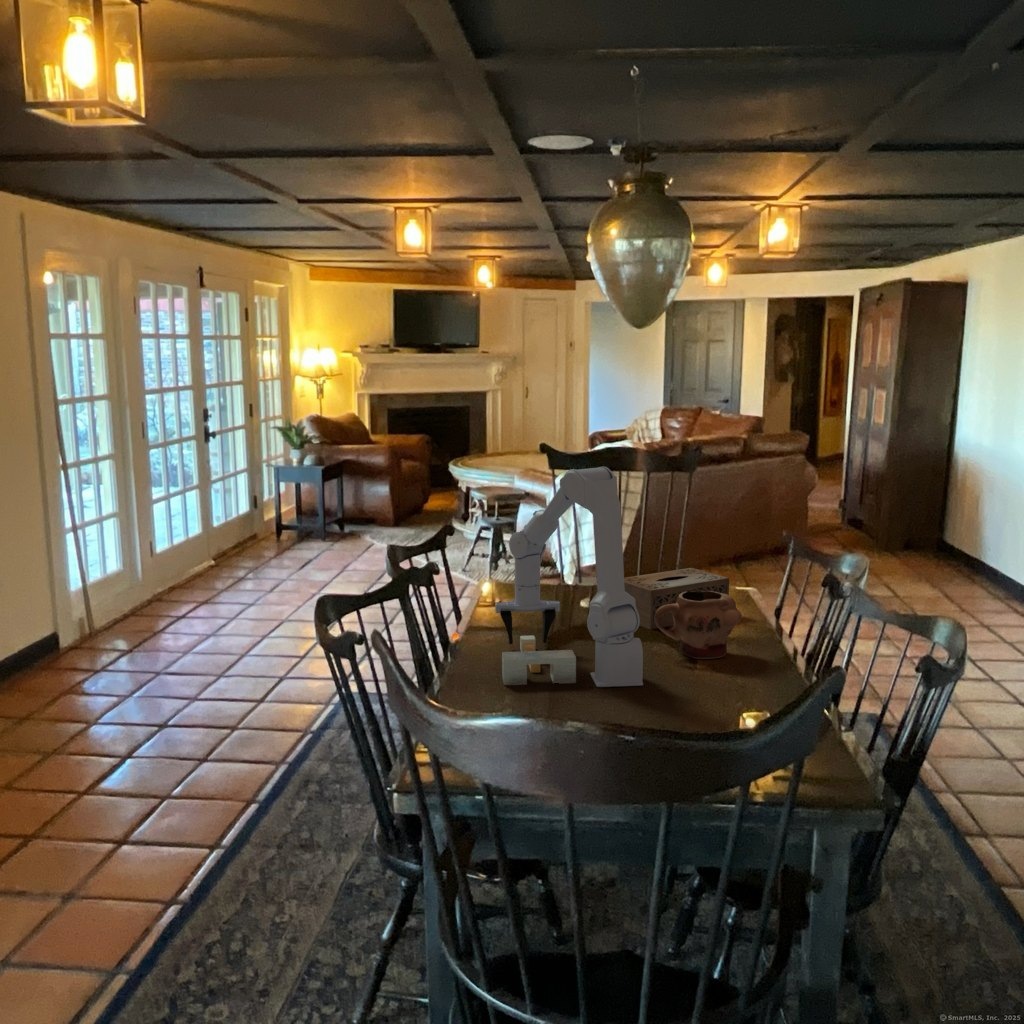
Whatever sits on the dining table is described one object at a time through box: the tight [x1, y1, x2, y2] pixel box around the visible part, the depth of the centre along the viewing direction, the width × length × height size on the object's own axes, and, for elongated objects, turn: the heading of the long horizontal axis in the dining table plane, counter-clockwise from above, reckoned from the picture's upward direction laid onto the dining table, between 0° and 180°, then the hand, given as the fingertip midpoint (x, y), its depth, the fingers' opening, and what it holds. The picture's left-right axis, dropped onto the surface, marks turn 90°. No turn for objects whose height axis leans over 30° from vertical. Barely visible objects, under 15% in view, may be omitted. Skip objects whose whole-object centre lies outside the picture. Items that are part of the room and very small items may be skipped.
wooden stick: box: [519, 634, 541, 673], centre depth 202 cm, size 17×3×3 cm, turn 5°
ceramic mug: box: [654, 591, 743, 660], centre depth 204 cm, size 20×12×14 cm, turn 105°
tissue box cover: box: [624, 567, 730, 630], centre depth 237 cm, size 26×14×10 cm, turn 121°
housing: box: [501, 649, 577, 686], centre depth 189 cm, size 15×5×5 cm, turn 95°
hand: (527, 642), depth 209 cm, fingers open, 7 cm apart
